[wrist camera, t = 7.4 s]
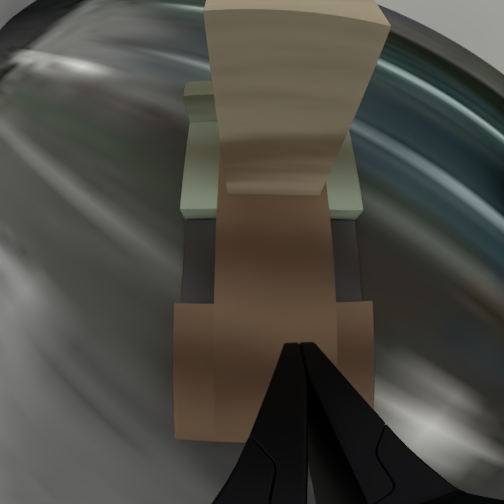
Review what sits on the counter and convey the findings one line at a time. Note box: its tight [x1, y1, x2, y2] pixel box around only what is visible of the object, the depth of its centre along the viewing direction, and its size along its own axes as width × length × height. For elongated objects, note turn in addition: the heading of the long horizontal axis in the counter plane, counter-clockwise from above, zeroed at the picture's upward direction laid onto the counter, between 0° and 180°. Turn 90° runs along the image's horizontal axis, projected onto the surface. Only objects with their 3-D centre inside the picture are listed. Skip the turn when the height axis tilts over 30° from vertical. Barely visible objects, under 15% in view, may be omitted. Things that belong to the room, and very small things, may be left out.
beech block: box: [204, 0, 391, 196], centre depth 12 cm, size 5×5×11 cm
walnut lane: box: [173, 81, 374, 443], centre depth 15 cm, size 19×10×4 cm, turn 0°
